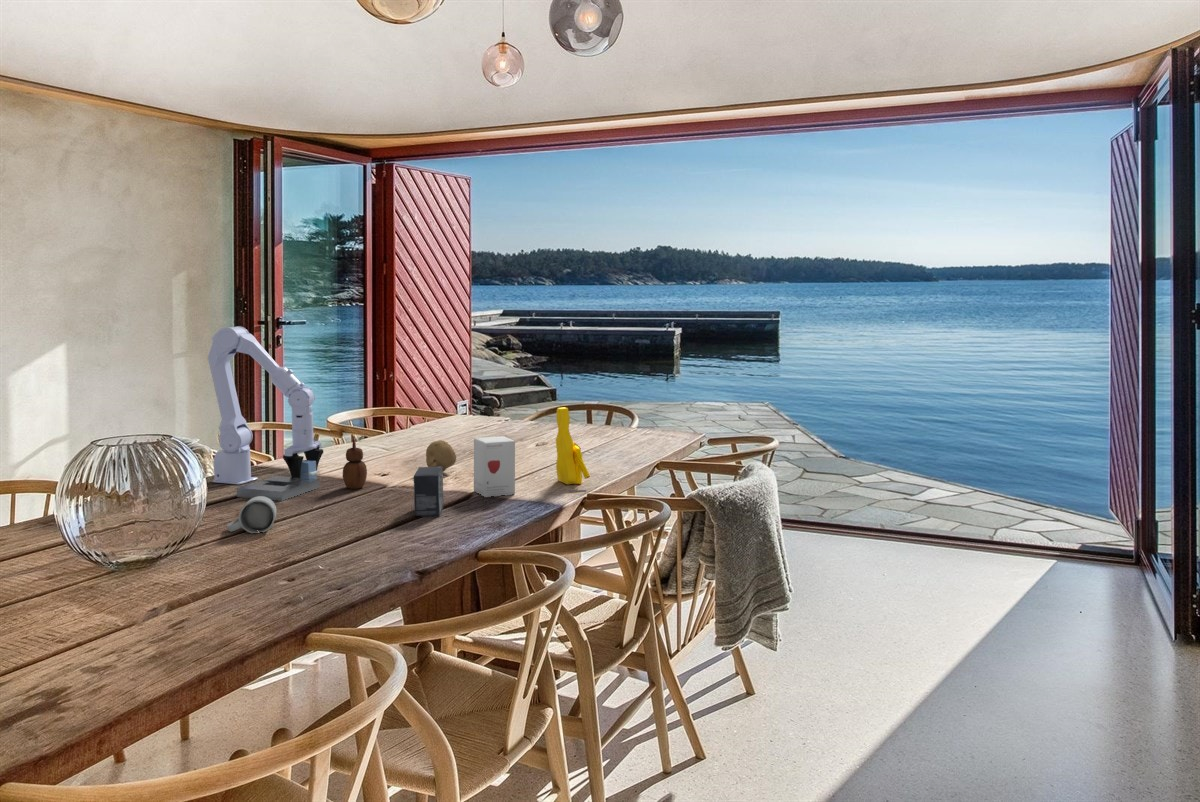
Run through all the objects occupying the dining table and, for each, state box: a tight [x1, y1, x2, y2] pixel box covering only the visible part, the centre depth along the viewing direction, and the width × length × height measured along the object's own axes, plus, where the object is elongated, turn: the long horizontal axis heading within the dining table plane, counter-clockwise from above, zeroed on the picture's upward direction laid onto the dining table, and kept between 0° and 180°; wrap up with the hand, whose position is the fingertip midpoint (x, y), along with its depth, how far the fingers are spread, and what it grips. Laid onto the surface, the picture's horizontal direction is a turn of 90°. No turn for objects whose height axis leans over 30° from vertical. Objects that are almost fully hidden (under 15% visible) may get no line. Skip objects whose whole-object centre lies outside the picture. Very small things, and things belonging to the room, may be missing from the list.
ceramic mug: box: [226, 496, 278, 534], centre depth 199 cm, size 11×8×8 cm
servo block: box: [288, 459, 321, 479], centre depth 250 cm, size 8×4×6 cm, turn 73°
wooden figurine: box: [342, 435, 368, 490], centre depth 243 cm, size 7×6×15 cm
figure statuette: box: [555, 406, 591, 485], centre depth 251 cm, size 18×8×22 cm, turn 28°
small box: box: [413, 466, 445, 518], centre depth 217 cm, size 11×6×10 cm, turn 5°
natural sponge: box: [425, 439, 457, 473], centre depth 264 cm, size 9×9×10 cm
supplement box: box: [473, 435, 516, 498], centre depth 238 cm, size 9×9×15 cm
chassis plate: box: [236, 475, 320, 502], centre depth 237 cm, size 14×16×2 cm
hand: (304, 476), depth 250 cm, fingers open, 7 cm apart
